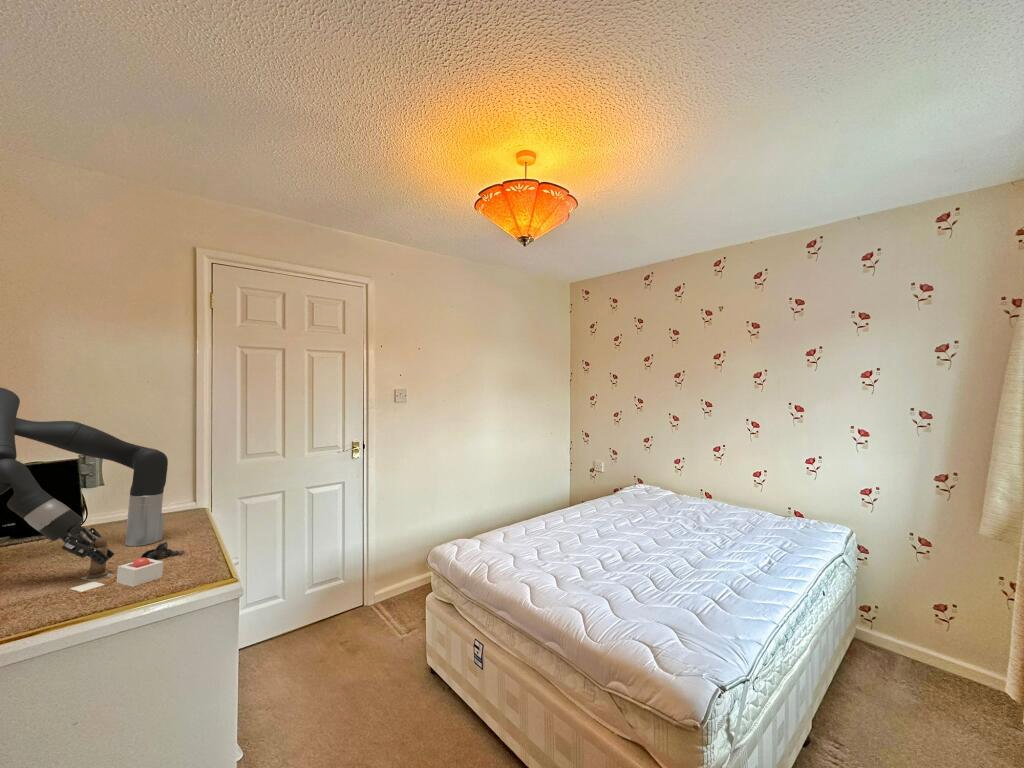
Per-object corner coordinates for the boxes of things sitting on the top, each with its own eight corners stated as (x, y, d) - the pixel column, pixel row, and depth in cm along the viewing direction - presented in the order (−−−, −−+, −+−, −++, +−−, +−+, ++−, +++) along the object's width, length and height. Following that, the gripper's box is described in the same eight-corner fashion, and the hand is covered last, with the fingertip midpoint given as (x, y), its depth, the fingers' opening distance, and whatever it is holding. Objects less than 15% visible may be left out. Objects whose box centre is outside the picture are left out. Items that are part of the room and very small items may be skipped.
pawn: (101, 572, 121) (105, 534, 121) (111, 574, 119) (115, 536, 120) (82, 577, 116) (86, 538, 117) (91, 580, 115) (96, 540, 116)
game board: (117, 570, 125) (118, 566, 125) (162, 581, 118) (163, 577, 119) (54, 588, 112) (54, 584, 112) (101, 601, 105) (101, 597, 105)
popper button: (143, 574, 119) (145, 554, 119) (152, 576, 118) (154, 556, 118) (126, 579, 115) (128, 559, 116) (136, 581, 114) (138, 561, 114)
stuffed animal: (144, 569, 124) (138, 539, 131) (137, 591, 127) (131, 561, 133) (192, 558, 134) (184, 530, 140) (185, 579, 136) (177, 551, 143)
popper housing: (145, 574, 121) (147, 558, 121) (162, 577, 119) (163, 561, 119) (116, 583, 114) (118, 566, 115) (133, 587, 112) (134, 570, 112)
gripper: (53, 523, 119) (105, 562, 124) (24, 537, 107) (83, 579, 111) (80, 503, 122) (130, 541, 127) (54, 514, 110) (111, 557, 114)
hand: (108, 559), depth 119 cm, fingers closed on pawn, 3 cm apart
